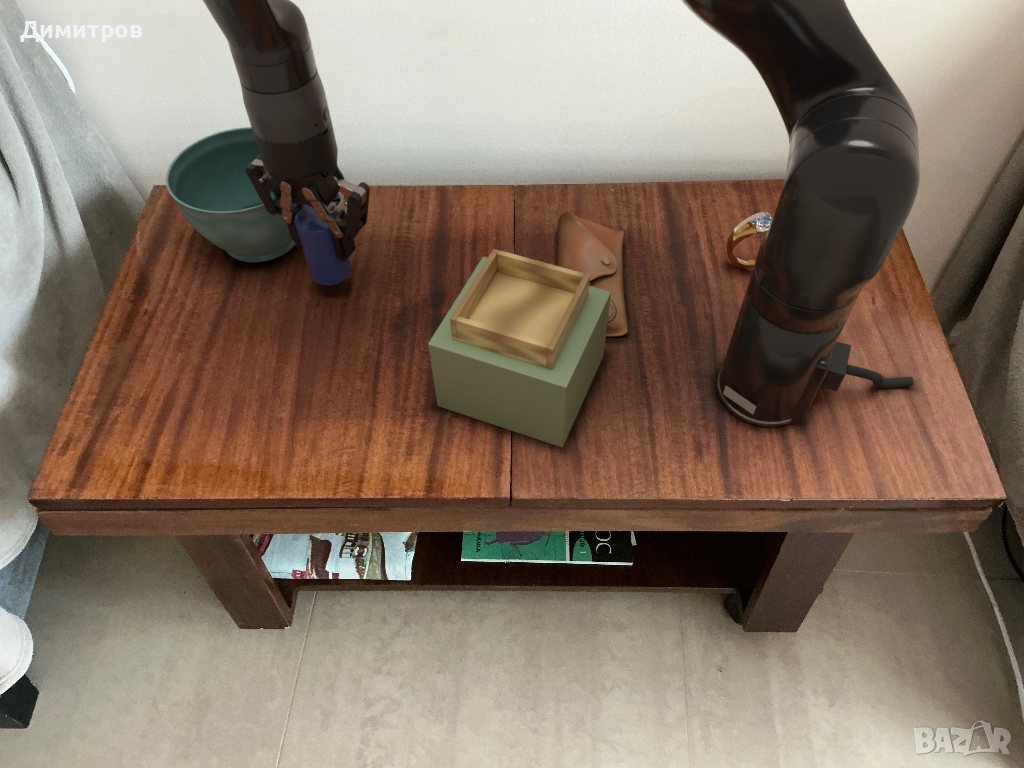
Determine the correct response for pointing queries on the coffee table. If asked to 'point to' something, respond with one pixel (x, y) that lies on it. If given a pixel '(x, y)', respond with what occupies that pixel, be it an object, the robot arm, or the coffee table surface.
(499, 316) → the tray
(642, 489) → the coffee table surface
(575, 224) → the sunglasses case
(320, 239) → the blue cylinder
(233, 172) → the teal bowl
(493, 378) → the riser
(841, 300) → the robot arm
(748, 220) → the ring
